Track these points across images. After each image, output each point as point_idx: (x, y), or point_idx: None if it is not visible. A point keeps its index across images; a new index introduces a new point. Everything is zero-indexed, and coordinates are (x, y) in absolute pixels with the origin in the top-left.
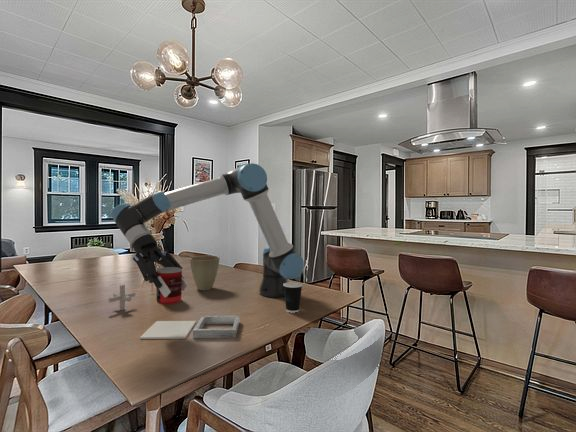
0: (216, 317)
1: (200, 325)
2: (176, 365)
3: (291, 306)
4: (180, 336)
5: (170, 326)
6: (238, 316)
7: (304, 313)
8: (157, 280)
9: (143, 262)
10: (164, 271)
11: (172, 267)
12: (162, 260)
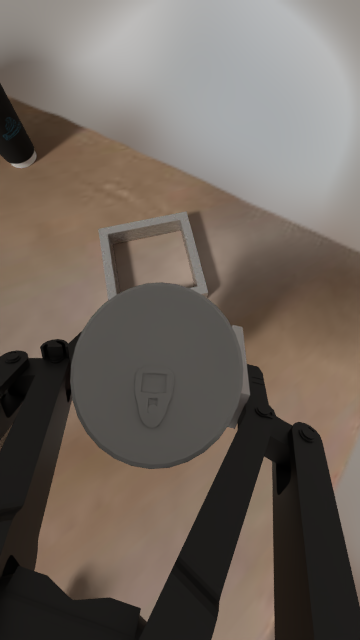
0: (114, 276)
1: None
2: (318, 275)
3: (28, 141)
4: None
5: None
6: (104, 229)
7: (38, 136)
8: (257, 391)
9: (351, 630)
10: (240, 356)
11: (80, 383)
12: (26, 524)
